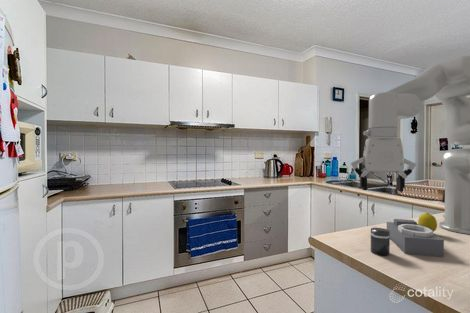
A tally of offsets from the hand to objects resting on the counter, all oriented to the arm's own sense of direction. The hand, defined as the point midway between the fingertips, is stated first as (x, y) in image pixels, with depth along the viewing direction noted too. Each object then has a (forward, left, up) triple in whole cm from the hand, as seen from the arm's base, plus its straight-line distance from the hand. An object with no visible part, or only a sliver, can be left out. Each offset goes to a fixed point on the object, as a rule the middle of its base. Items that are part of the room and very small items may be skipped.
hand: (381, 190), depth 73 cm
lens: (0, 0, -19) cm, 19 cm away
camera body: (-9, +12, -19) cm, 24 cm away
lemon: (-22, +22, -20) cm, 37 cm away
